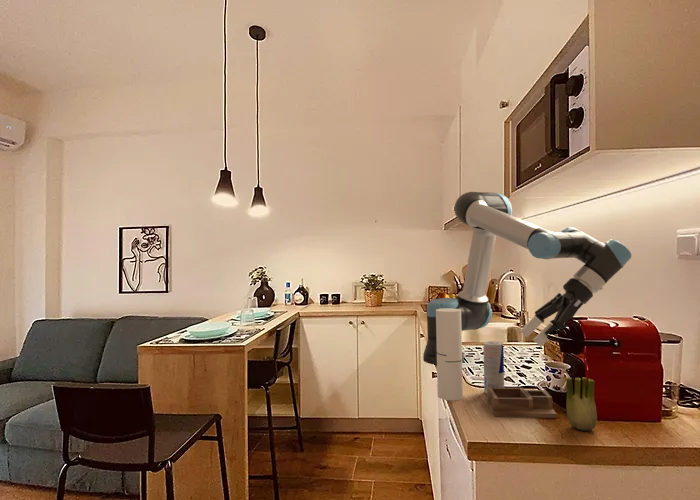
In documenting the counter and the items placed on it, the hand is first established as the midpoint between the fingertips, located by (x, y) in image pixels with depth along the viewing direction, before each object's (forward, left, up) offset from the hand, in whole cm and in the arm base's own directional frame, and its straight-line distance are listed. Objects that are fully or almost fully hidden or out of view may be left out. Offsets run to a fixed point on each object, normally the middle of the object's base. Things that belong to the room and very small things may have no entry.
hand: (529, 338), depth 131 cm
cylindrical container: (+3, -23, -16) cm, 29 cm away
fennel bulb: (+25, +5, -16) cm, 30 cm away
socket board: (+12, -6, -16) cm, 21 cm away
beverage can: (0, -10, -16) cm, 19 cm away
